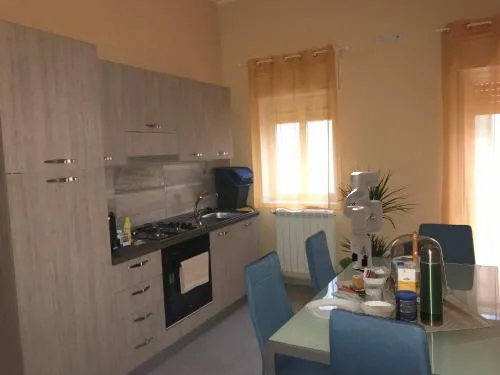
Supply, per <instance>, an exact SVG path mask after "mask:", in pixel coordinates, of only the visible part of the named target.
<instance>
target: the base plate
mask: <svg viewBox="0 0 500 375" xmlns="http://www.w3.org/2000/svg"><path fill="white" fill-rule="evenodd" d="M349 286H350V287H352V288H354V289H356V290H361V289H364V288H356V287H355V286H353V285H352V284H349ZM350 287H349V288H350Z"/></svg>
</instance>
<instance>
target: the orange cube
mask: <svg viewBox="0 0 500 375" xmlns="http://www.w3.org/2000/svg"><path fill="white" fill-rule="evenodd" d="M356 276H362V277H363V276H365V275H364V274H357V275H356V274H355V275H352V276H351V277H352V279H351V280H352V281H351V282H352V284H351V285H353V286H355V287H356V288H364V280H363V278H357V277H356Z"/></svg>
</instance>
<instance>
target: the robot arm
mask: <svg viewBox="0 0 500 375" xmlns="http://www.w3.org/2000/svg"><path fill="white" fill-rule="evenodd" d="M380 176H381V175H380V173H379V172H378V171H355V172H352V173H350V176H349V181H350V184H351V187H352V191H351V192H350V193H349V194H347V195H346V197H345V199H344V200H343V206H342V216H343V218H344V219H346V220H348V221H349V220H350V222H351V224H350V225H351V229H350V230H351V234H350V245H349V248H350V252H351V262H352V263H355V264H354V265H352V269H354V270H355V269H364V268H370V267H374V268H375V266H374V265H372V240H371V237H370V236H368V234H374V235H375V234H382V233H383V230H384V217H383V216H384V212H383V204H382V202H381V200H378V199H377V200H376V199H373V200H372V199H371V198H370V191H369V187H378V186H379V185H380V182H381V177H380ZM352 204H354V205H352ZM372 216H373V217H372Z"/></svg>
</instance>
